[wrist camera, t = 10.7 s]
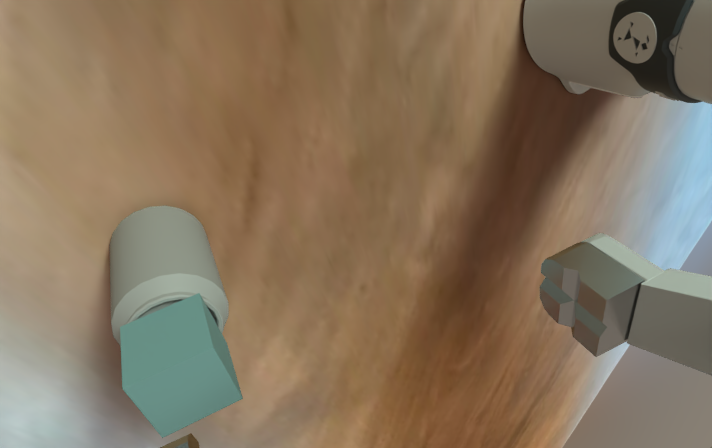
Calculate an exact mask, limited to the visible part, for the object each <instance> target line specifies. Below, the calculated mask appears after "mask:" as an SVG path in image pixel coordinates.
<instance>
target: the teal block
mask: <svg viewBox="0 0 712 448" xmlns="http://www.w3.org/2000/svg"><path fill="white" fill-rule="evenodd" d="M120 339H121V364H122V389H123V390H124V391H125V393H126V394H127V395H128V396H129V397H130V399H131V400H132V401H133V402H134V404H135V405H136V406H137V407H138V408H139V410H140V411H141V412H142V413H143V415H144V416H145V417H146V418H147V419H148V421H149V422H150V423H151V424H152V426H153V427H154V428H155V429H156V430H157V432H158V433H159V434H160V435H161V437H162V438H163V437H165V436H167V435H169V434H171V433H174V432H176V431H178V430H180V429H182V428H184V427H186V426H188V425H190V424H192V423H194V422H196V421H198V420H200V419H202V418H204V417H206V416H208V415H210V414H212V413H214V412H216V411H218V410H221V409H223V408H225V407H227V406H229V405H231V404H233V403H235V402H237V401H239V400H241V399H243V398H242V394H241V391H240V387H239V384H238V380H237V377H236V373H235V370H234V366H233V363H232V359H231V356H230V352H229V349H228V346H227V343H226V341H225V339H224V337H223V335H222V333H221V332H220V330H219V328H218V326H217V324H216V322H215V320H214V319H213V317H212V315H211V313H210V311H209V309H208V308H207V306H206V304H205V302H204V300H203V298H202V297H201V295H200V293H198V294H196V295H193V296H191V297H189V298H186V299H184V300H182V301H179V302H177V303H175V304H172V305H170V306H168V307H165V308H163V309H161V310H158V311H156V312H154V313H151V314H149V315H147V316H144V317H142V318H140V319H137V320H135V321H133V322H130V323H128V324H126V325H123V326H121V327H120Z"/></svg>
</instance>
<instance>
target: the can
mask: <svg viewBox="0 0 712 448" xmlns="http://www.w3.org/2000/svg"><path fill="white" fill-rule="evenodd" d="M110 290H111V325H112V331H113V336H114V338H115V339H116V341H117V342H118V343H119V345H120V346H121V339H120V327H121V326H123V325H126V324H128V323H130V322H133V321H135V320H137V319H140V318H142V317H144V316H147V315H149V314H151V313H154V312H156V311H158V310H161V309H163V308H165V307H168V306H170V305H172V304H175V303H177V302H179V301H182V300H184V299H186V298H189V297H191V296H193V295H196V294H198V293H200V295H201V297H202V298H203V300H204V302H205V304H206V306H207V308H208V309H209V311H210V313H211V315H212V317H213V319H214V320H215V322H216V324H217V326H218V328H219V330H220V332H221V333H222V332H223V328H224V326H225V323H226V321H227V318H228V300H227V297H226V294H225V291H224V288H223V285H222V282H221V279H220V276H219V272H218V269H217V266H216V263H215V260H214V257H213V254H212V251H211V248H210V244H209V241H208V238H207V235H206V233H205V231H204V228H203V226H202V224H201V223H200V222H199V221H198V220H197V219H196V218H195V217H194V216H193V215H192V214H190V213H188V212H186V211H184V210H182V209H180V208H175V207H169V206H155V207H147V208H145V209H142V210H139V211H136V212H134V213H132V214H131V215H129V216H128V217H127V218H125V219H124V220H122V221H121V222H120V224H119V225H118V226H117V228H116V229H115V231H114V232H113V234H112V238H111V242H110Z"/></svg>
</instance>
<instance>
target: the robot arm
mask: <svg viewBox="0 0 712 448" xmlns="http://www.w3.org/2000/svg"><path fill="white" fill-rule="evenodd" d="M523 28H524V37H525V42H526V46H527V48H528V51H529V53H530V55H531V57H532V59H533V60H534V62H535V63H536V64H537V65H538V66H539V67H540V68H541V69H543V70H544V71H546V72H548V73H551V74H553V75H555V76H557V77H558V78H560V80H561V82H562V84H563V85H564V87H565V88H566V90H567V91H569V92H570V93H574V94H582V93H584V92H586V91H587V90H589V89H590V88H594V89H598V90H602V91H606V92H610V93H614V94H618V95H622V96H627V97H631V98H641V97H643V95H645V94H648V93H650V92H653V93H656V94H659V96H661V97H664V98H667V99H671V100H677V101H679V100H680V101H684V102H687V103H698V102H702V101H703V102H706V103H709V104H712V0H525V5H524V15H523ZM541 273H542V274H543V275H544V276H545V277H546V278H545V279H544V281H543V283H542V284H541V286H540V299H541V301H542V304H543V306H544V308H545V310H546V311H547V312H548V314H549V315H550V316H551V317H552V318H553V319H554V320H555V321H556V322H557V323H558V324H562V325H565V326H569V327H571V329H572V334H573V337H574V338H575V339H576V340H577V341H578V342H580V343H581V344H582V345H583V346H584V347H585V348H586V349H587V350H589V351H590V352H591V353H592V354H593V355H594V356H595V357H597V356H599V355H601V354H603V353H605V352H607V351H609V350H611V349H613V348H615V347H616V346H618V345H620V344H622V343H624V342H626V341H627V343H628V344H630V345H633V346H636V347H638V348H641V349H644V350H646V351H649V352H651V353H654V354H657V355H659V356H662V357H664V358H667V359H670V360H672V361H675V362H678V363H680V364H683V365H686V366H688V367H691V368H693V369H696V370H699V371H701V372H704V373H706V374H709V375H712V277H711V276H706V275H701V274H695V273H691V272H686V271H681V270H676V269H671V268H670V269H667V270H665V271H664V270H662V269H661V268H659V267H658V266H656V265H654V264H653V263H651V262H650V261H648V260H647V259H645V258H643V257H642V256H640V255H639V254H637V253H635V252H634V251H632V250H631V249H629V248H627V247H626V246H624V245H623V244H621V243H619V242H618V241H616V240H615V239H613V238H611V237H610V236H608V235H606V234H602V233H598V234H596V235H594V236H592V237H590V238H588V239H586V240H584V241H582V242H580V243H576V244H574V245H572V246H570V247H568V248H566V249H564V250H563V251H561V252H559V253H557V254H555V255H553V256H551V257H549V258H547V259H545V260H544V262H543V263H542V266H541ZM160 448H199V443H198V441H197V440H196V439H195V437H194V436H193V435H192V434H189V435H186V436H184V437H182V438H180V439H178V440H176V441H173V442H171V443H169V444H167V445H165V446H162V447H160ZM711 448H712V447H711Z"/></svg>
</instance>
